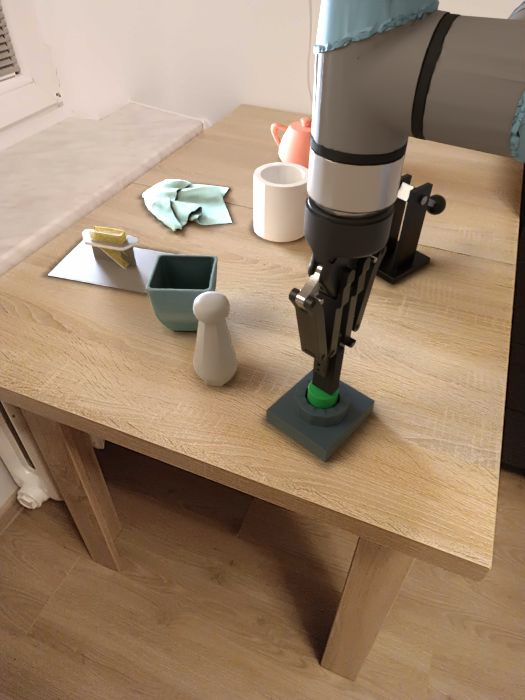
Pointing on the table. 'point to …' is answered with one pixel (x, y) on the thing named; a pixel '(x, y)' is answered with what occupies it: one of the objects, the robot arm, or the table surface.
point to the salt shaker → (213, 340)
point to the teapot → (294, 141)
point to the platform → (108, 261)
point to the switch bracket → (406, 235)
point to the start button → (321, 397)
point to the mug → (280, 201)
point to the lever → (435, 201)
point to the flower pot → (180, 288)
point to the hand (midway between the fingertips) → (325, 386)
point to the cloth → (187, 203)
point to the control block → (319, 417)
